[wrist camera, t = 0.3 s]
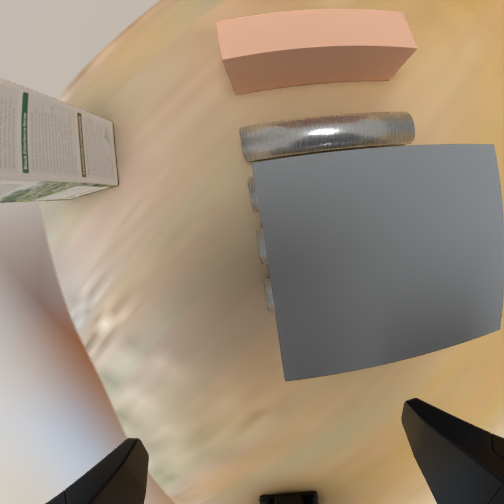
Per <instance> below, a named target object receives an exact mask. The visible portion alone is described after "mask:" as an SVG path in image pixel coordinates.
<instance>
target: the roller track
mask: <svg viewBox="0 0 504 504" xmlns="http://www.w3.org/2000/svg"><path fill="white" fill-rule="evenodd" d="M240 137H241V144H242V149H243V154H244V158H245V161H246V162H248V161H254V160H260V159H267V158H273V157H280V156H287V155H294V154H302V153H309V152H317V151H326V150H335V149H345V148H355V147H367V146H380V145H395V144H411V143H412V142H413V140H414V137H415V127H414V122H413V119H412V117H411V115H410V114H409V113H408V112H378V113H358V114H344V115H332V116H321V117H312V118H303V119H295V120H287V121H280V122H273V123H267V124H260V125H254V126H248V127H243V128H240ZM248 186H249V193H250V199H251V204H252V208H253V212H254V213H255V212H260V210H259V204H258V198H257V192H256V185H255V179H254V177H248ZM256 232H257V242H258V249H259V255H260V260H261V263H262V264H265V263H268V262H267V255H266V249H265V242H264V236H263V229H262V228H259V229H257V230H256ZM265 293H266V301H267V306H268V311H269V313H272V312H275V308H274V301H273V295H272V288H271V281H270V278H267V279H265Z"/></svg>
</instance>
